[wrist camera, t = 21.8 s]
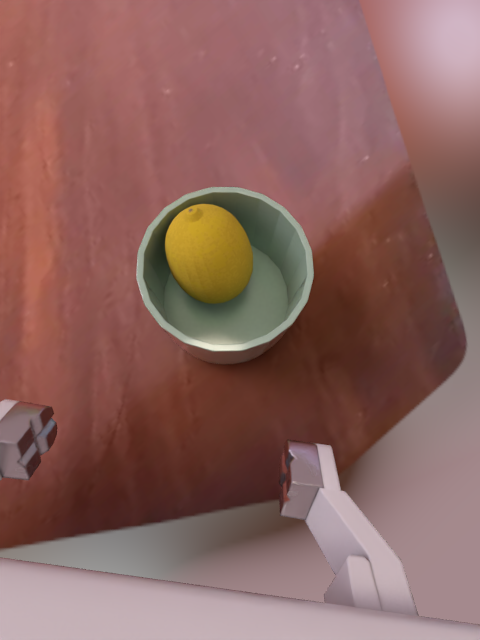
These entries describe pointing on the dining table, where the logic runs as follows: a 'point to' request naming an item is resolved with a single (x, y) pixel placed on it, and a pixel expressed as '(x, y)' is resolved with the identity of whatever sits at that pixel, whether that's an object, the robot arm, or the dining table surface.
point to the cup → (253, 302)
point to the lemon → (209, 253)
